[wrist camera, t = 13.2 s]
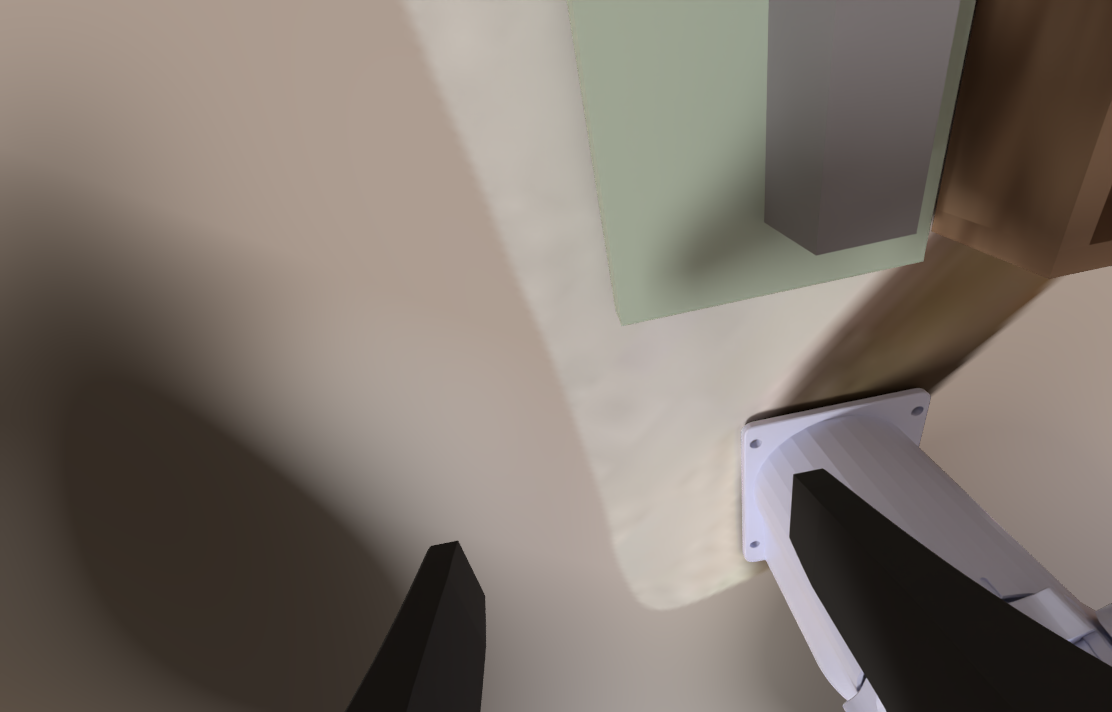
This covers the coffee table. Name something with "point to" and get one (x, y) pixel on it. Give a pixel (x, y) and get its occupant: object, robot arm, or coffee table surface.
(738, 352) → the coffee table surface
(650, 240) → the toolbox lid
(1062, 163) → the toolbox
